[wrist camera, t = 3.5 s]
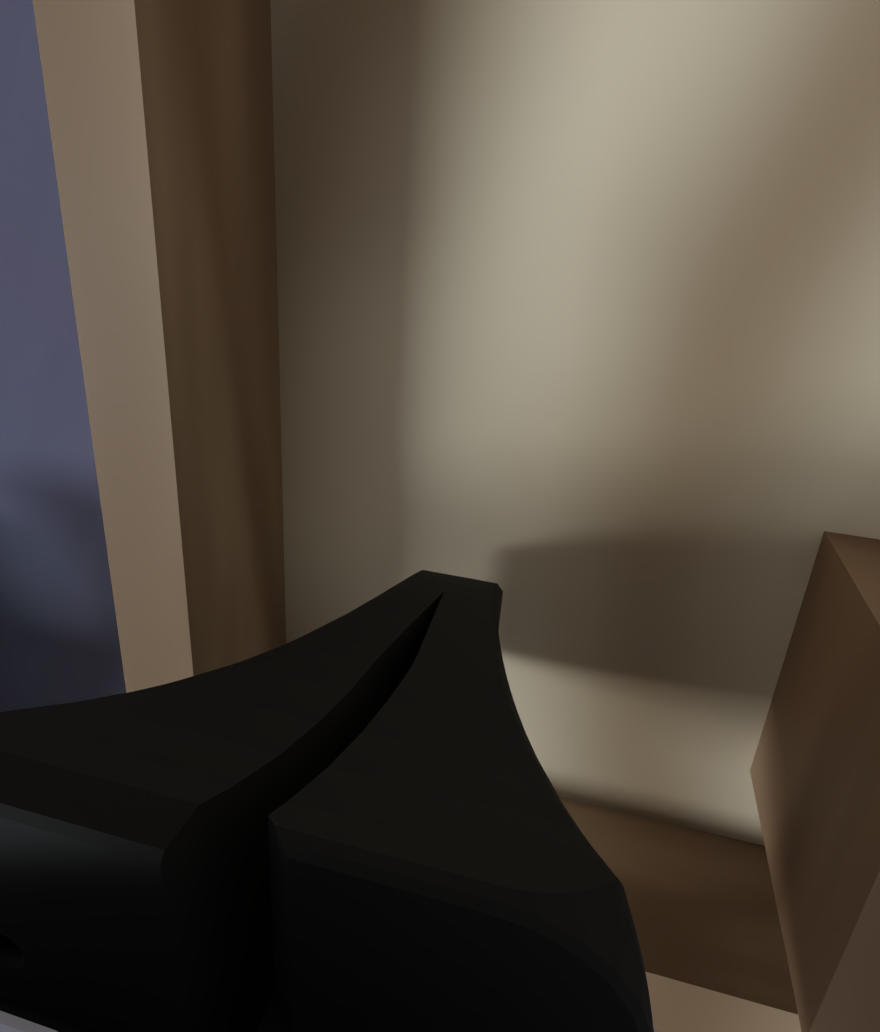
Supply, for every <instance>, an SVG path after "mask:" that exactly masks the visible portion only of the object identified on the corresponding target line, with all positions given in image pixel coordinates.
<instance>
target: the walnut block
mask: <svg viewBox="0 0 880 1032" xmlns="http://www.w3.org/2000/svg"><path fill="white" fill-rule="evenodd" d="M750 774H751V779H752V784H753V789H754V794H755V799H756V804H757V809H758V814H759V819H760V824H761V829H762V834H763V839H764V844H765V849H766V855H767V860H768V865H769V870H770V875H771V880H772V885H773V890H774V895H775V900H776V905H777V910H778V915H779V920H780V925H781V930H782V935H783V940H784V945H785V950H786V955H787V960H788V965H789V971H790V976H791V981H792V986H793V991H794V996H795V1001H796V1006H797V1011H798V1016H799V1021H800V1026H801V1031H802V1032H880V540H879V539H873V538H866V537H860V536H853V535H847V534H840V533H833V532H827V531H824V533H823V536H822V540H821V543H820V546H819V549H818V552H817V556H816V559H815V562H814V565H813V569H812V572H811V575H810V578H809V581H808V585H807V588H806V591H805V594H804V598H803V601H802V604H801V607H800V610H799V614H798V617H797V620H796V623H795V627H794V630H793V633H792V636H791V639H790V643H789V646H788V649H787V652H786V656H785V659H784V662H783V665H782V668H781V672H780V675H779V678H778V681H777V685H776V688H775V691H774V694H773V697H772V701H771V704H770V707H769V710H768V714H767V717H766V720H765V723H764V726H763V730H762V733H761V736H760V739H759V743H758V746H757V749H756V752H755V755H754V759H753V762H752V765H751V768H750Z"/></svg>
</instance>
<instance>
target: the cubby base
mask: <svg viewBox="0 0 880 1032" xmlns="http://www.w3.org/2000/svg"><path fill="white" fill-rule="evenodd" d="M33 6H34V14H35V21H36V28H37V36H38V43H39V51H40V58H41V65H42V73H43V80H44V88H45V95H46V102H47V110H48V117H49V125H50V132H51V139H52V147H53V154H54V162H55V169H56V176H57V184H58V191H59V199H60V206H61V213H62V221H63V228H64V236H65V243H66V250H67V258H68V265H69V273H70V280H71V287H72V295H73V302H74V310H75V317H76V324H77V332H78V339H79V347H80V354H81V361H82V369H83V376H84V384H85V391H86V398H87V406H88V413H89V421H90V428H91V435H92V443H93V450H94V458H95V465H96V472H97V480H98V487H99V495H100V502H101V509H102V517H103V524H104V532H105V539H106V546H107V554H108V561H109V569H110V576H111V583H112V591H113V598H114V606H115V613H116V620H117V628H118V635H119V643H120V650H121V657H122V665H123V672H124V679H125V687H126V693H128V692H133V691H138V690H142V689H146V688H151V687H155V686H159V685H163V684H167V683H171V682H175V681H178V680H182V679H185V678H188V677H192V676H195V675H199V674H202V673H205V672H209V671H212V670H215V669H219V668H222V667H226V666H229V665H232V664H235V663H238V662H241V661H243V660H246V659H249V658H251V657H254V656H257V655H259V654H262V653H264V652H267V651H270V650H272V649H275V648H277V647H279V646H282V645H284V644H286V643H289V642H291V641H293V640H295V639H298V638H300V637H302V636H304V635H306V634H308V633H310V632H312V631H314V630H316V629H318V628H320V627H322V626H324V625H326V624H328V623H330V622H331V621H333V620H335V619H337V618H339V617H341V616H343V615H345V614H347V613H349V612H351V611H352V610H354V609H356V608H358V607H359V606H361V605H363V604H365V603H366V602H368V601H370V600H371V599H373V598H375V597H377V596H378V595H380V594H382V593H383V592H385V591H387V590H388V589H390V588H392V587H393V586H395V585H397V584H398V583H400V582H402V581H403V580H405V579H407V578H408V577H410V576H412V575H413V574H415V573H417V572H419V571H421V570H427V571H432V572H438V573H443V574H449V575H454V576H460V577H465V578H471V579H476V580H482V581H487V582H493V583H497V584H498V585H499V587H500V588H501V589H502V591H503V596H502V605H501V614H500V622H499V639H500V645H501V652H502V658H503V662H504V667H505V672H506V675H507V679H508V683H509V686H510V690H511V693H512V697H513V700H514V703H515V706H516V709H517V712H518V714H519V717H520V719H521V722H522V724H523V727H524V730H525V732H526V734H527V737H528V739H529V741H530V743H531V745H532V748H533V750H534V752H535V754H536V756H537V758H538V760H539V762H540V764H541V766H542V767H543V769H544V771H545V773H546V775H547V776H548V778H549V780H550V782H551V784H552V785H553V787H554V789H555V791H556V793H557V794H558V796H559V798H560V800H561V802H562V803H563V805H564V806H565V808H566V809H567V811H568V812H569V814H570V815H571V817H572V818H573V820H574V821H575V823H576V824H577V826H578V827H579V829H580V830H581V832H582V833H583V835H584V836H585V837H586V839H587V840H588V841H589V843H590V844H591V846H592V847H593V848H594V849H595V851H596V852H597V853H598V854H599V856H600V857H601V858H602V859H603V861H604V862H605V863H606V864H607V866H608V867H609V868H610V869H611V871H612V872H613V873H614V874H615V876H616V877H617V878H618V879H619V881H620V882H621V883H622V884H623V886H624V890H625V893H626V897H627V900H628V904H629V907H630V911H631V915H632V918H633V922H634V925H635V929H636V933H637V937H638V941H639V945H640V950H641V954H642V958H643V963H644V967H645V973H646V978H647V984H648V989H649V997H650V1004H651V1011H652V1019H653V1029H654V1030H655V1031H658V1032H802V1031H801V1026H800V1021H799V1016H798V1011H797V1006H796V1001H795V996H794V991H793V986H792V981H791V976H790V971H789V965H788V960H787V955H786V950H785V945H784V940H783V935H782V930H781V925H780V920H779V915H778V910H777V905H776V900H775V895H774V890H773V885H772V880H771V875H770V870H769V865H768V860H767V855H766V849H765V844H764V839H763V834H762V829H761V824H760V819H759V814H758V809H757V804H756V799H755V794H754V789H753V784H752V779H751V774H750V768H751V765H752V762H753V759H754V755H755V752H756V749H757V746H758V743H759V739H760V736H761V733H762V730H763V726H764V723H765V720H766V717H767V714H768V710H769V707H770V704H771V701H772V697H773V694H774V691H775V688H776V685H777V681H778V678H779V675H780V672H781V668H782V665H783V662H784V659H785V656H786V652H787V649H788V646H789V643H790V639H791V636H792V633H793V630H794V627H795V623H796V620H797V617H798V614H799V610H800V607H801V604H802V601H803V598H804V594H805V591H806V588H807V585H808V581H809V578H810V575H811V572H812V569H813V565H814V562H815V559H816V556H817V552H818V549H819V546H820V543H821V540H822V536H823V533H824V531H827V532H833V533H840V534H847V535H853V536H860V537H866V538H873V539H879V540H880V0H33Z"/></svg>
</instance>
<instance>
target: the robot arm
mask: <svg viewBox="0 0 880 1032" xmlns="http://www.w3.org/2000/svg"><path fill="white" fill-rule="evenodd" d="M502 596H503V591H502V589H501V588H500V587H499V585H498V584H497V583H493V582H487V581H482V580H476V579H471V578H465V577H460V576H454V575H449V574H443V573H438V572H432V571H427V570H421V571H419V572H417V573H415V574H413V575H412V576H410V577H408V578H407V579H405V580H403V581H402V582H400V583H398V584H397V585H395V586H393V587H392V588H390V589H388V590H387V591H385V592H383V593H382V594H380V595H378V596H377V597H375V598H373V599H371V600H370V601H368V602H366V603H365V604H363V605H361V606H359V607H358V608H356V609H354V610H352V611H351V612H349V613H347V614H345V615H343V616H341V617H339V618H337V619H335V620H333V621H331V622H330V623H328V624H326V625H324V626H322V627H320V628H318V629H316V630H314V631H312V632H310V633H308V634H306V635H304V636H302V637H300V638H298V639H295V640H293V641H291V642H289V643H286V644H284V645H282V646H279V647H277V648H275V649H272V650H270V651H267V652H264V653H262V654H259V655H257V656H254V657H251V658H249V659H246V660H243V661H241V662H238V663H235V664H232V665H229V666H226V667H222V668H219V669H215V670H212V671H209V672H205V673H202V674H199V675H195V676H192V677H188V678H185V679H182V680H178V681H175V682H171V683H167V684H163V685H159V686H155V687H151V688H146V689H142V690H138V691H133V692H128V693H123V694H118V695H113V696H108V697H103V698H98V699H92V700H86V701H80V702H74V703H67V704H60V705H52V706H45V707H37V708H29V709H22V710H14V711H7V712H0V1032H654V1029H653V1019H652V1011H651V1004H650V997H649V989H648V984H647V978H646V973H645V967H644V963H643V958H642V954H641V950H640V945H639V941H638V937H637V933H636V929H635V925H634V922H633V918H632V915H631V911H630V907H629V904H628V900H627V897H626V893H625V890H624V886H623V884H622V883H621V882H620V881H619V879H618V878H617V877H616V876H615V874H614V873H613V872H612V871H611V869H610V868H609V867H608V866H607V864H606V863H605V862H604V861H603V859H602V858H601V857H600V856H599V854H598V853H597V852H596V851H595V849H594V848H593V847H592V846H591V844H590V843H589V841H588V840H587V839H586V837H585V836H584V835H583V833H582V832H581V830H580V829H579V827H578V826H577V824H576V823H575V821H574V820H573V818H572V817H571V815H570V814H569V812H568V811H567V809H566V808H565V806H564V805H563V803H562V802H561V800H560V798H559V796H558V794H557V793H556V791H555V789H554V787H553V785H552V784H551V782H550V780H549V778H548V776H547V775H546V773H545V771H544V769H543V767H542V766H541V764H540V762H539V760H538V758H537V756H536V754H535V752H534V750H533V748H532V745H531V743H530V741H529V739H528V737H527V734H526V732H525V730H524V727H523V724H522V722H521V719H520V717H519V714H518V712H517V709H516V706H515V703H514V700H513V697H512V693H511V690H510V686H509V683H508V679H507V675H506V672H505V667H504V662H503V658H502V652H501V645H500V639H499V622H500V614H501V605H502Z"/></svg>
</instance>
